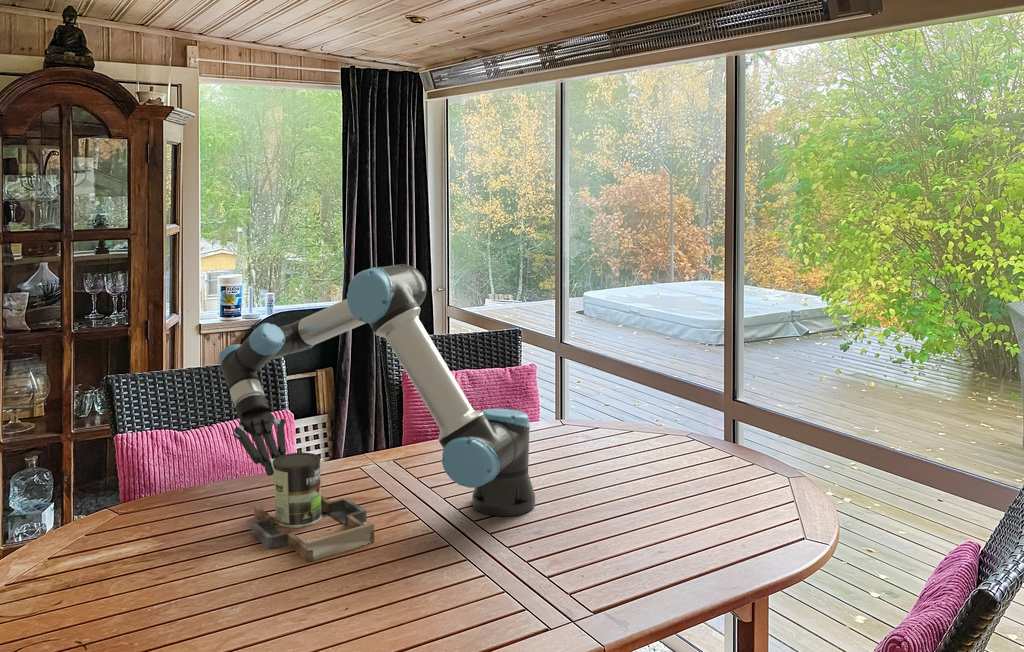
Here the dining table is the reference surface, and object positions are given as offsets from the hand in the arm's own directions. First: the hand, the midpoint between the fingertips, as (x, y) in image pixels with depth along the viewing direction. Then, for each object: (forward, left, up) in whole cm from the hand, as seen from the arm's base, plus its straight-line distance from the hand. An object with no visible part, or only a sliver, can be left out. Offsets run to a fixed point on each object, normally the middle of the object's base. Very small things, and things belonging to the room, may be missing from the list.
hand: (280, 485), depth 183 cm
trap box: (-12, +10, -5) cm, 16 cm away
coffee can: (-7, +6, -5) cm, 11 cm away
